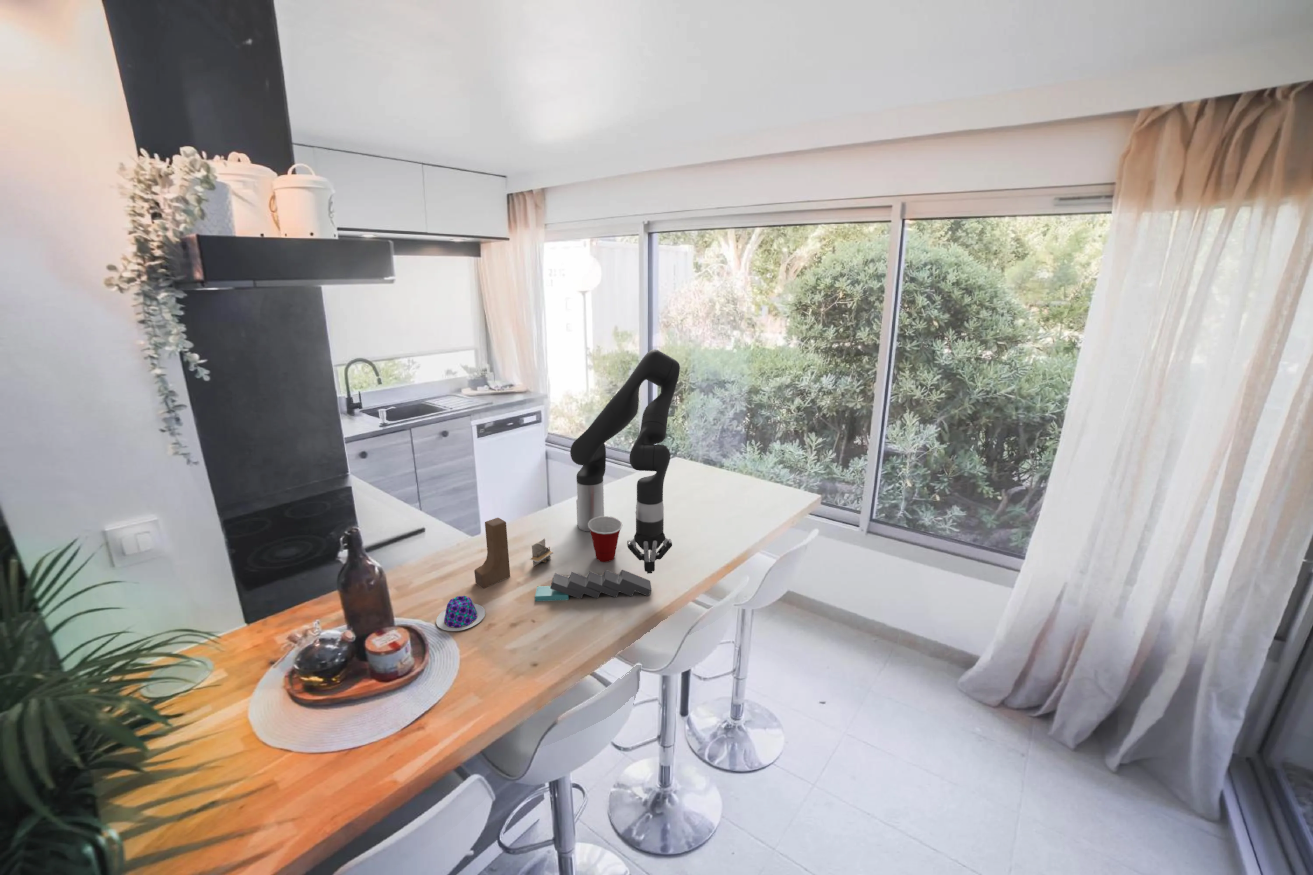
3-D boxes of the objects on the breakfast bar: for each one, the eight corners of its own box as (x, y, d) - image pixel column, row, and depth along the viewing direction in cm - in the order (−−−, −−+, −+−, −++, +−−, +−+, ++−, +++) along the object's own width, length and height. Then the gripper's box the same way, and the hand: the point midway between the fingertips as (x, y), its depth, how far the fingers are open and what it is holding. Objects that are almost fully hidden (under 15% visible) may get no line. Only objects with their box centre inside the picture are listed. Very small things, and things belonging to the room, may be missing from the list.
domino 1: (568, 601, 147) (535, 602, 146) (569, 591, 152) (537, 592, 151) (568, 594, 146) (534, 596, 146) (569, 584, 151) (537, 586, 150)
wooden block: (482, 589, 151) (477, 531, 146) (475, 583, 154) (469, 526, 149) (510, 577, 158) (506, 521, 153) (502, 571, 161) (498, 516, 155)
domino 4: (616, 597, 148) (586, 586, 146) (615, 587, 153) (586, 576, 151) (619, 591, 148) (589, 580, 146) (618, 581, 152) (589, 571, 151)
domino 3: (597, 598, 147) (567, 586, 146) (598, 588, 152) (568, 577, 150) (600, 592, 147) (570, 580, 145) (601, 583, 152) (571, 571, 150)
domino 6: (648, 596, 149) (619, 584, 147) (647, 586, 154) (618, 575, 152) (651, 590, 148) (622, 578, 147) (650, 580, 153) (621, 569, 151)
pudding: (492, 621, 138) (490, 603, 136) (444, 639, 131) (442, 621, 129) (475, 600, 147) (474, 583, 145) (430, 616, 140) (428, 598, 138)
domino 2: (581, 599, 147) (550, 588, 146) (582, 589, 152) (552, 578, 150) (583, 593, 147) (552, 582, 145) (585, 583, 151) (555, 572, 150)
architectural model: (554, 562, 167) (553, 541, 165) (538, 572, 161) (537, 550, 159) (546, 559, 169) (544, 538, 167) (530, 569, 163) (528, 547, 161)
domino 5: (631, 596, 148) (602, 584, 147) (630, 586, 153) (602, 575, 151) (634, 590, 148) (605, 578, 146) (633, 580, 153) (605, 569, 151)
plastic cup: (603, 570, 162) (603, 534, 158) (581, 557, 169) (580, 523, 166) (630, 557, 169) (629, 523, 166) (607, 546, 176) (607, 512, 173)
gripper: (626, 522, 140) (626, 580, 145) (675, 520, 142) (674, 577, 147) (624, 510, 148) (625, 566, 153) (672, 508, 149) (671, 564, 154)
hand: (649, 571), depth 150 cm, fingers closed
